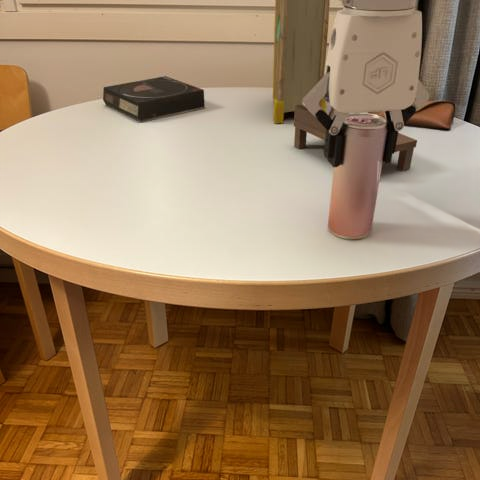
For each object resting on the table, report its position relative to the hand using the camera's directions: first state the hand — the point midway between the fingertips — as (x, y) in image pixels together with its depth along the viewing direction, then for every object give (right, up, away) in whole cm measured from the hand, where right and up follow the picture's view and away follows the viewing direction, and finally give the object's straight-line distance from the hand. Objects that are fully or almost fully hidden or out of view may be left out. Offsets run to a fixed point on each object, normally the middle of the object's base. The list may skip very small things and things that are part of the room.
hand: (358, 160), depth 67 cm
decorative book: (-2, +26, +51) cm, 57 cm away
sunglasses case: (+21, +22, +45) cm, 54 cm away
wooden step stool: (+5, +9, +28) cm, 30 cm away
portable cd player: (-35, +29, +55) cm, 71 cm away
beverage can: (0, -8, +6) cm, 10 cm away
